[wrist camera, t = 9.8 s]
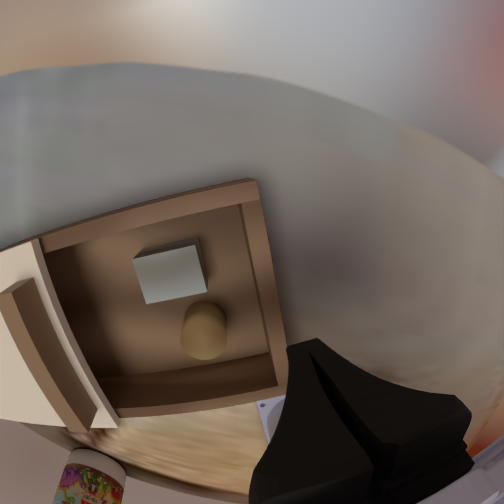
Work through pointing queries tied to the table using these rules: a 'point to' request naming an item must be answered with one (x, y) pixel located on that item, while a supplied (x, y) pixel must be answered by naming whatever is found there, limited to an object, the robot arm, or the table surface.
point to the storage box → (174, 301)
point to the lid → (43, 352)
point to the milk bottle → (90, 479)
